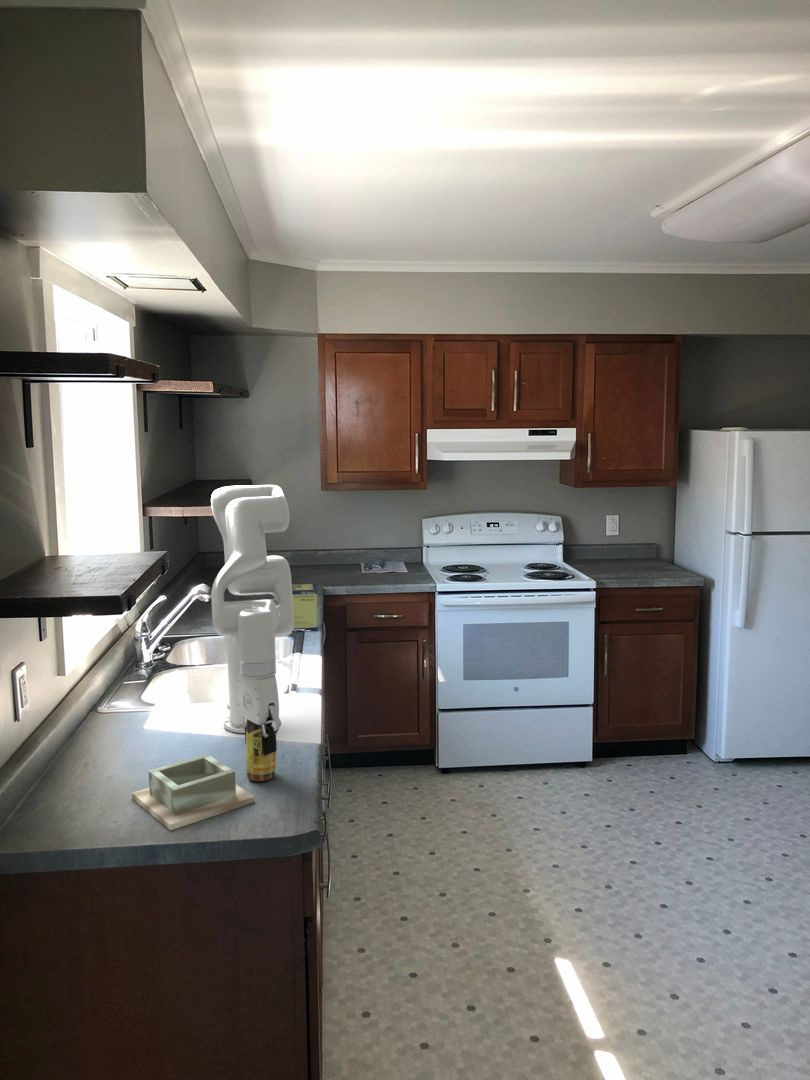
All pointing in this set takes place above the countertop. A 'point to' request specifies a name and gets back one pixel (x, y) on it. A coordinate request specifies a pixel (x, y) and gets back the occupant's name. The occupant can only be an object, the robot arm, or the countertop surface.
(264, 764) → the sauce bottle
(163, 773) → the tray
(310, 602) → the protein box
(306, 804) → the countertop surface
